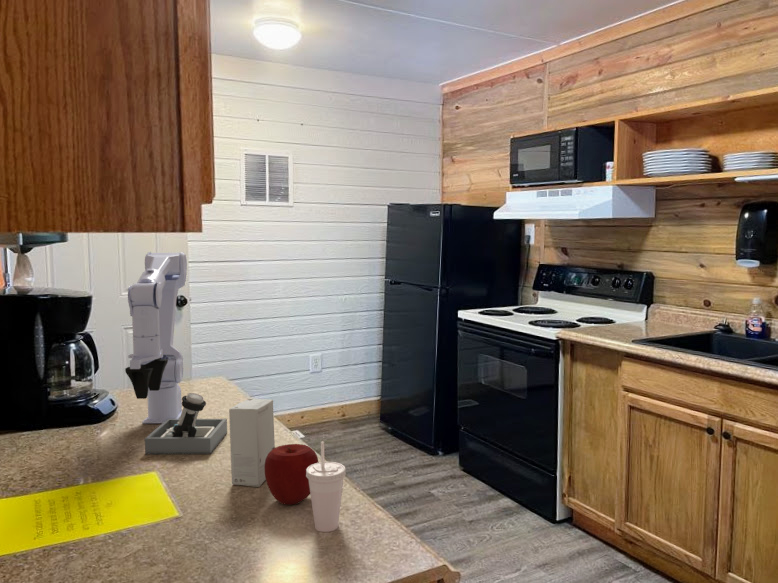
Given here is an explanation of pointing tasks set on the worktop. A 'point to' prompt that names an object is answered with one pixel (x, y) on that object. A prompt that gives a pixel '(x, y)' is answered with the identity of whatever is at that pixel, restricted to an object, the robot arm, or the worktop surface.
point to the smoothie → (326, 492)
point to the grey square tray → (186, 438)
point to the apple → (289, 472)
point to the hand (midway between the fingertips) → (148, 394)
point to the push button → (188, 416)
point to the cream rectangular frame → (200, 431)
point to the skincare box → (251, 440)
